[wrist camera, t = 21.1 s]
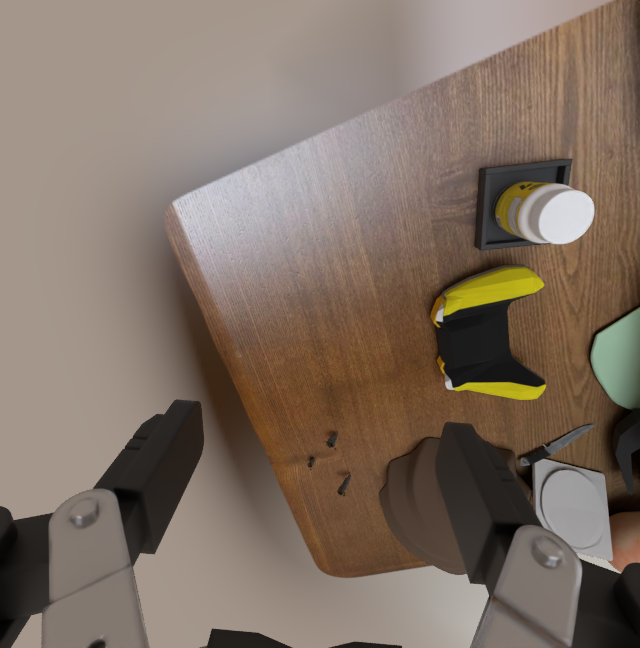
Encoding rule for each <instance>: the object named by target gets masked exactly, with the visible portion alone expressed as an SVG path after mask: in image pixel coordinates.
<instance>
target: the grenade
mask: <svg viewBox="0 0 640 648" xmlns="http://www.w3.org/2000/svg"><path fill="white" fill-rule="evenodd" d="M632 410H633V412H631V413H630V414H629V415H628V416H627V417H625V418H624V419H623V420H622V421H621V422H619V423H618V424H617V425H616V426H615V431H614V436H613V441H612V446H613V449H614V452H615V455H616V457H617V460H618V463H619V466H620V469H621V472H622V475H623V478H624V481H625V484H626V486H627V489H628V492H629V494H630V495H633V481H632V465H631V453H633V452H635V451H636V450H638V449H640V408H632ZM639 480H640V464H639Z"/></svg>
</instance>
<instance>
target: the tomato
mask: <svg viewBox="0 0 640 648" xmlns="http://www.w3.org/2000/svg"><path fill="white" fill-rule="evenodd" d="M609 524H610V534H611V544H612V554H613V560H612V561H608V560H607V561H608V562H609V563H610V564H611V565H612V566H613V567H614V568H616V569H617V570H618V571H620V572H621V573H622V571H623V569H624V568H625V567H626V566H627V565H628V564H630V563H635V562H637V563H640V511H634V512H622V513H617V514H614V515H612V516H610V517H609Z"/></svg>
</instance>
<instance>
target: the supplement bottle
mask: <svg viewBox="0 0 640 648" xmlns="http://www.w3.org/2000/svg"><path fill="white" fill-rule="evenodd" d="M492 215H493V219H494V222H495V224H496V225H497V226H498V227H499V228H500V229H501V230H503V231H505V232H508V233H511V234H513V235H516V236H519V237H521V238H524V239H527V240H529V241H532V242H535V243H553V244H566V243H569V242H572V241H574V240H576V239H577V238H579V237H580V236H582V235H583V234H584V233H585V232H586V231H587V229H588V228H589V226H590V225H591V223H592V220H593V217H594V204H593V202H592V200H591V198H590V197H589V196H588V195H587V194H585V193H584V192H582V191H578V190H574V189H573V188H571V187H569V186H567V185H564V184H558V183H543V182H529V181H523V182H516V183H513V184H511V185H509V186H507V187H506V188H504V189H503V190H502V191H501V192H500V193H499V195H498V196H497V197H496V199H495V202H494V204H493V210H492Z"/></svg>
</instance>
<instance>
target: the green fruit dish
mask: <svg viewBox="0 0 640 648" xmlns="http://www.w3.org/2000/svg"><path fill="white" fill-rule="evenodd" d="M591 364H592V367H593V370H594V373H595V375H596V378H597V379H598V381H599V382H600V384H601V385H602V387H603V388H604V390H605V391H606V393H607V394H608V396H609V397H610V398H611V399H612V400H613V401H614V402H615V403H617V404H618V405H620V406H622V407H625V408H627V409H630V410H632V408H640V307H639V308H637V309H636V310H634V311H633V312H631V313H629V314H628V315H626V316H625V317H623V318H622V319H620V320H618V321H617V322H615V323H614V324H612V325H611V326H609V327H607V328H606V329H604V330H603V331H601V332H600V333H598V334H597V335H596V337H595V340H594V344H593V347H592V351H591Z"/></svg>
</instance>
